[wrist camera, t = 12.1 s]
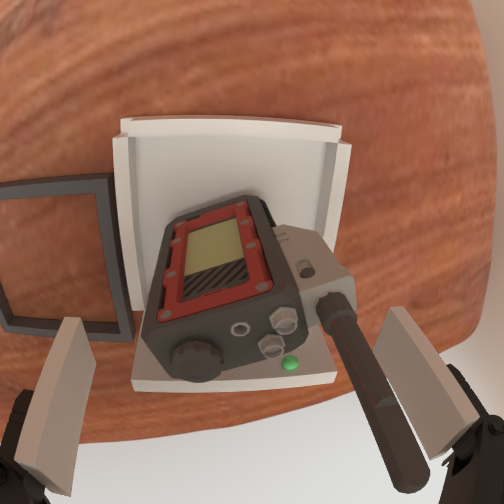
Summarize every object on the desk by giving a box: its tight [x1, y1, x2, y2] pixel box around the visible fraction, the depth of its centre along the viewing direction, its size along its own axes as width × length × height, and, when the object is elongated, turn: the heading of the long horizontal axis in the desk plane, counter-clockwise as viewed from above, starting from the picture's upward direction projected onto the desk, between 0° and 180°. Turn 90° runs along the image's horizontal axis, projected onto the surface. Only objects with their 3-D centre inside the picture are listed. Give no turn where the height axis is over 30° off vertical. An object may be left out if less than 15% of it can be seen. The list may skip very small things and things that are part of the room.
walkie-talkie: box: [141, 195, 430, 494], centre depth 15 cm, size 9×4×20 cm, turn 106°
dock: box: [113, 115, 352, 393], centre depth 20 cm, size 15×15×10 cm
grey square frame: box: [0, 173, 136, 342], centre depth 23 cm, size 15×15×2 cm
